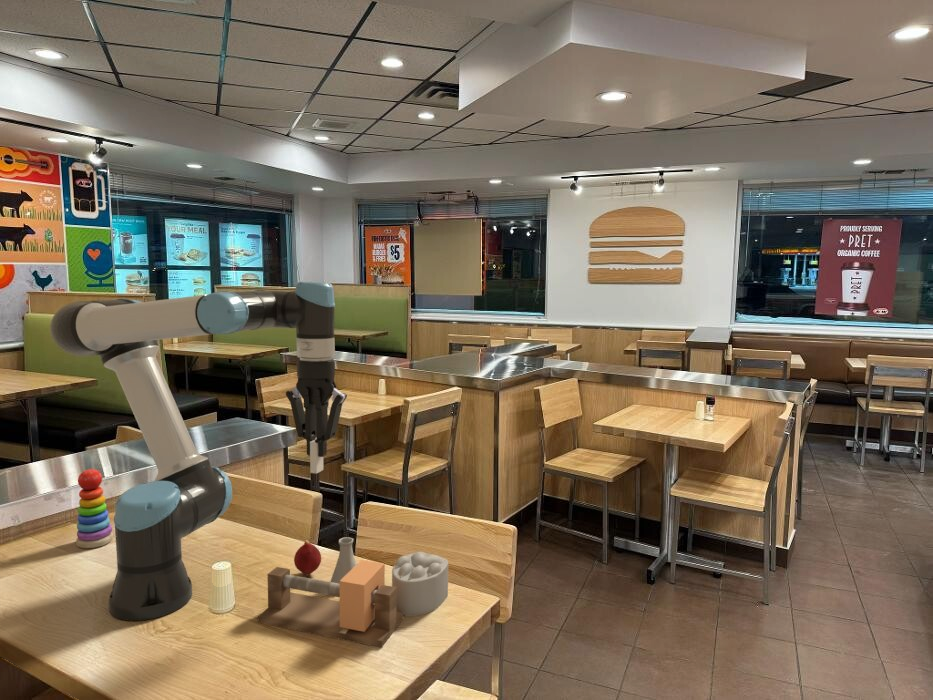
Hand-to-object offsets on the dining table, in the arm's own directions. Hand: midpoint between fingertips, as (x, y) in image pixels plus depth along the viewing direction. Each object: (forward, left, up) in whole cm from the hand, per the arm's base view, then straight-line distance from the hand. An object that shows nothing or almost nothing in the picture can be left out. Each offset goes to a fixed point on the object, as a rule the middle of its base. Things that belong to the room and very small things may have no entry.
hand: (316, 471), depth 128 cm
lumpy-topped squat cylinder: (+21, +4, -27) cm, 34 cm away
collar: (+15, -9, -24) cm, 30 cm away
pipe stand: (+8, -9, -26) cm, 29 cm away
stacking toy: (-64, +4, -27) cm, 69 cm away
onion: (-6, +6, -27) cm, 28 cm away
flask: (+4, +5, -27) cm, 27 cm away
